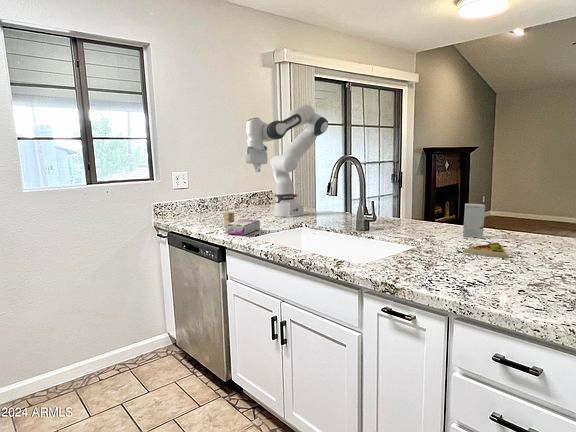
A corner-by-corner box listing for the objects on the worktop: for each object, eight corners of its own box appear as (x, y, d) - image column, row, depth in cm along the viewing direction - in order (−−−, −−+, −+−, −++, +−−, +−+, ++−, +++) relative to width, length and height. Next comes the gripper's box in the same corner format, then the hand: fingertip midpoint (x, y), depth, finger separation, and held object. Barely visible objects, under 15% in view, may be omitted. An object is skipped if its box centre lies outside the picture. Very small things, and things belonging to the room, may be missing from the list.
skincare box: (462, 237, 174) (464, 204, 171) (462, 234, 179) (464, 203, 177) (483, 238, 170) (485, 205, 168) (483, 235, 176) (484, 203, 173)
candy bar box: (242, 228, 208) (225, 233, 194) (242, 219, 208) (224, 223, 193) (260, 229, 204) (244, 235, 189) (260, 220, 203) (243, 225, 188)
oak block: (230, 226, 218) (229, 212, 217) (234, 226, 215) (233, 212, 214) (224, 227, 215) (223, 212, 214) (228, 227, 213) (228, 213, 211)
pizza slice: (461, 254, 147) (461, 247, 147) (477, 244, 163) (478, 237, 162) (507, 261, 137) (507, 252, 137) (519, 249, 152) (520, 242, 152)
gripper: (251, 145, 205) (254, 171, 206) (268, 147, 224) (270, 171, 225) (241, 146, 208) (243, 172, 209) (258, 149, 227) (261, 172, 227)
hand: (257, 171), depth 217 cm, fingers closed
